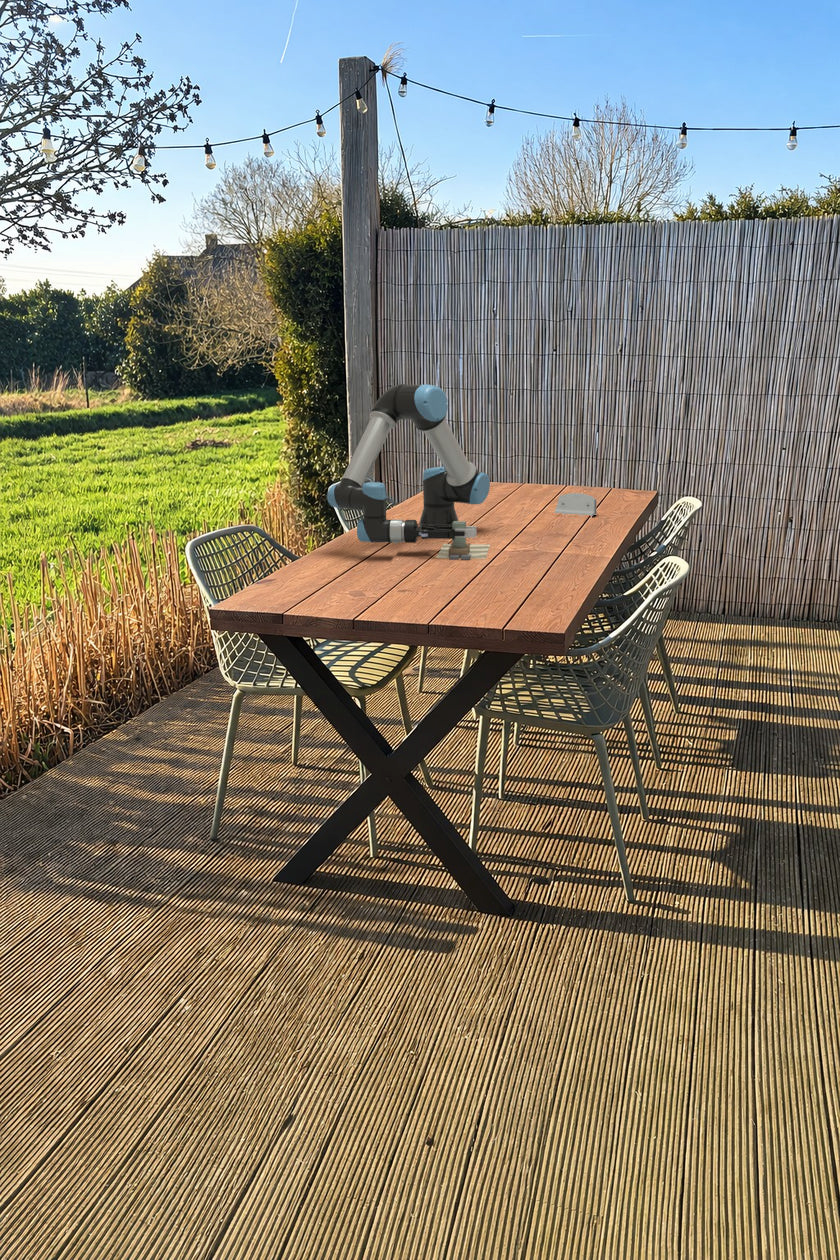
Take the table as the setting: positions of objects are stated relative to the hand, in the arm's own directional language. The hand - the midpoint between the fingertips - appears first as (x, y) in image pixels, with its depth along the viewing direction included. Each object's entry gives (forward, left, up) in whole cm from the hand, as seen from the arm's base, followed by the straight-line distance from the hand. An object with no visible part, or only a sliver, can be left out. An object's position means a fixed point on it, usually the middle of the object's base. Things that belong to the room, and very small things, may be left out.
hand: (475, 531), depth 316 cm
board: (-5, -4, -9) cm, 11 cm away
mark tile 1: (+6, -6, -8) cm, 12 cm away
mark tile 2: (+6, -3, -7) cm, 10 cm away
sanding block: (0, -5, -7) cm, 9 cm away
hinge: (-83, +33, -9) cm, 90 cm away
